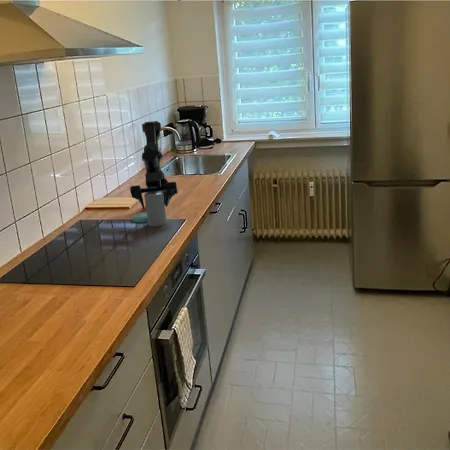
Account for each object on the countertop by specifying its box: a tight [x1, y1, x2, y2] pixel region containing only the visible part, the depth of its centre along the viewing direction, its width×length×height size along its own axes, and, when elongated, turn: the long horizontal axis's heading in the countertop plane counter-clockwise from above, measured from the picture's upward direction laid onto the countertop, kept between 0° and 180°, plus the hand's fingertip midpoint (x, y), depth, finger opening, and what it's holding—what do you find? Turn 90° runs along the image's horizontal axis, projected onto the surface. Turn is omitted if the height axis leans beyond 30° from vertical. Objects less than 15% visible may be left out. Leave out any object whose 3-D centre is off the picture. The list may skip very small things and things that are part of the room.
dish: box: [130, 211, 148, 224], centre depth 216 cm, size 11×11×1 cm
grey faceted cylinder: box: [143, 191, 168, 227], centre depth 206 cm, size 7×7×12 cm
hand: (155, 207), depth 204 cm, fingers open, 9 cm apart
